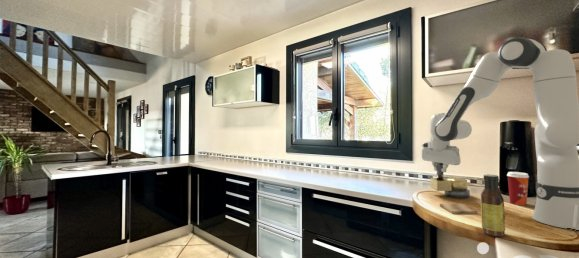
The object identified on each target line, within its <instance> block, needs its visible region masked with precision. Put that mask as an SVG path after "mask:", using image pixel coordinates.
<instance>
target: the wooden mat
mask: <svg viewBox="0 0 579 258" xmlns="http://www.w3.org/2000/svg"><path fill="white" fill-rule="evenodd" d="M439 207H440V208H442V209H444V210H445V211H447V212H449V213H450V214H453V215H457V214H458V215H460V214H462V215H463V214H465V215H466V214H471V215H472V214H477V215H478V211H477V210H476V209H474V208H473V207H470V206H468V205H466V204H464V203H439Z"/></svg>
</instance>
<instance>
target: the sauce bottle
mask: <svg viewBox="0 0 579 258" xmlns="http://www.w3.org/2000/svg"><path fill="white" fill-rule="evenodd" d="M483 180H484V186H483V187H484V188H483V190H482V191H481V193H480V211H481V212H480V216H481V230H482V232H483V233H484V234H486V235H488V236H491V237H492V236H493V237H504V236H505V233H506V221H505V220H506V216H505V199H504V197H503V195H502V192H501V190H500V187H499V180H500V177H499V175H496V174H489V173H488V174H483Z"/></svg>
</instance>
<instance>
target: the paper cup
mask: <svg viewBox="0 0 579 258" xmlns="http://www.w3.org/2000/svg"><path fill="white" fill-rule="evenodd" d="M506 177H507V184H508V196H509V203H510V204H512V205H515V206H527V201H528V189H529V178H530V176H529V174H528V173H526V172H519V171H508V172H507V174H506Z"/></svg>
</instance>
